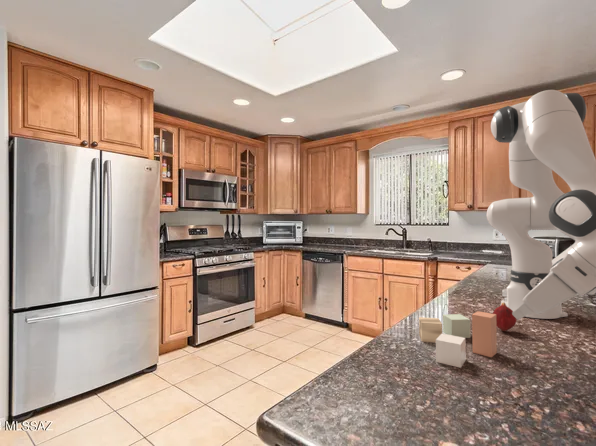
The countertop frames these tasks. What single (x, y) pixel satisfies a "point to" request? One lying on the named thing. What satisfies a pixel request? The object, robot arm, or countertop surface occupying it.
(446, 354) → the ceramic block
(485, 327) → the terracotta post
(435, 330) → the maple block
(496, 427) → the countertop surface
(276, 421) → the countertop surface
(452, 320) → the sage block
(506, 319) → the onion
